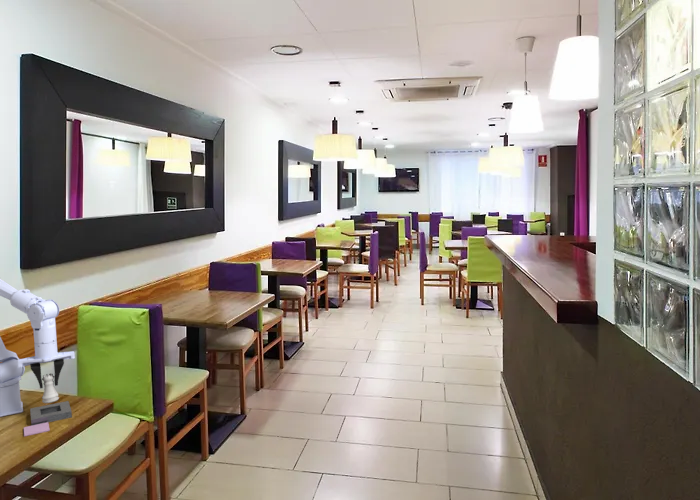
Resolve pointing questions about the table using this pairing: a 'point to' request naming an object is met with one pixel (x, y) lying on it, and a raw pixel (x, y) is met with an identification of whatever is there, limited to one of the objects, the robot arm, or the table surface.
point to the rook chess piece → (49, 389)
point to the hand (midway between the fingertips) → (48, 386)
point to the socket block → (50, 413)
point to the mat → (36, 429)
